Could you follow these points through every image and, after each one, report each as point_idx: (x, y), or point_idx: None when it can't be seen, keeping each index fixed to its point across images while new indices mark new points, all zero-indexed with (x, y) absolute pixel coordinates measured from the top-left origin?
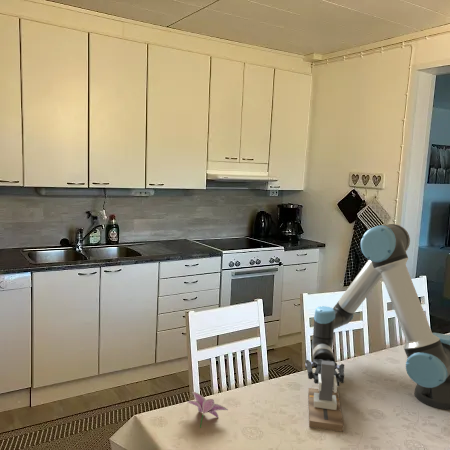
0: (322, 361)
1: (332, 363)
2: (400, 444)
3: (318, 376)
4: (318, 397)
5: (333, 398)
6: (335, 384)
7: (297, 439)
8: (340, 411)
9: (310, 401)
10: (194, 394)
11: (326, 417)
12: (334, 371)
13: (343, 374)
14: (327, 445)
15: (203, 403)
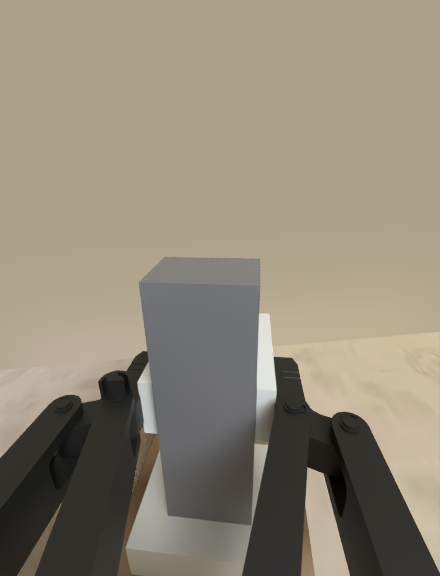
0: (253, 275)
1: (170, 268)
2: (37, 369)
3: (273, 362)
4: (255, 490)
5: (160, 493)
6: None
7: (312, 357)
8: (148, 460)
9: (302, 550)
10: None
11: None
12: (97, 462)
13: (43, 417)
14: None
15: None
